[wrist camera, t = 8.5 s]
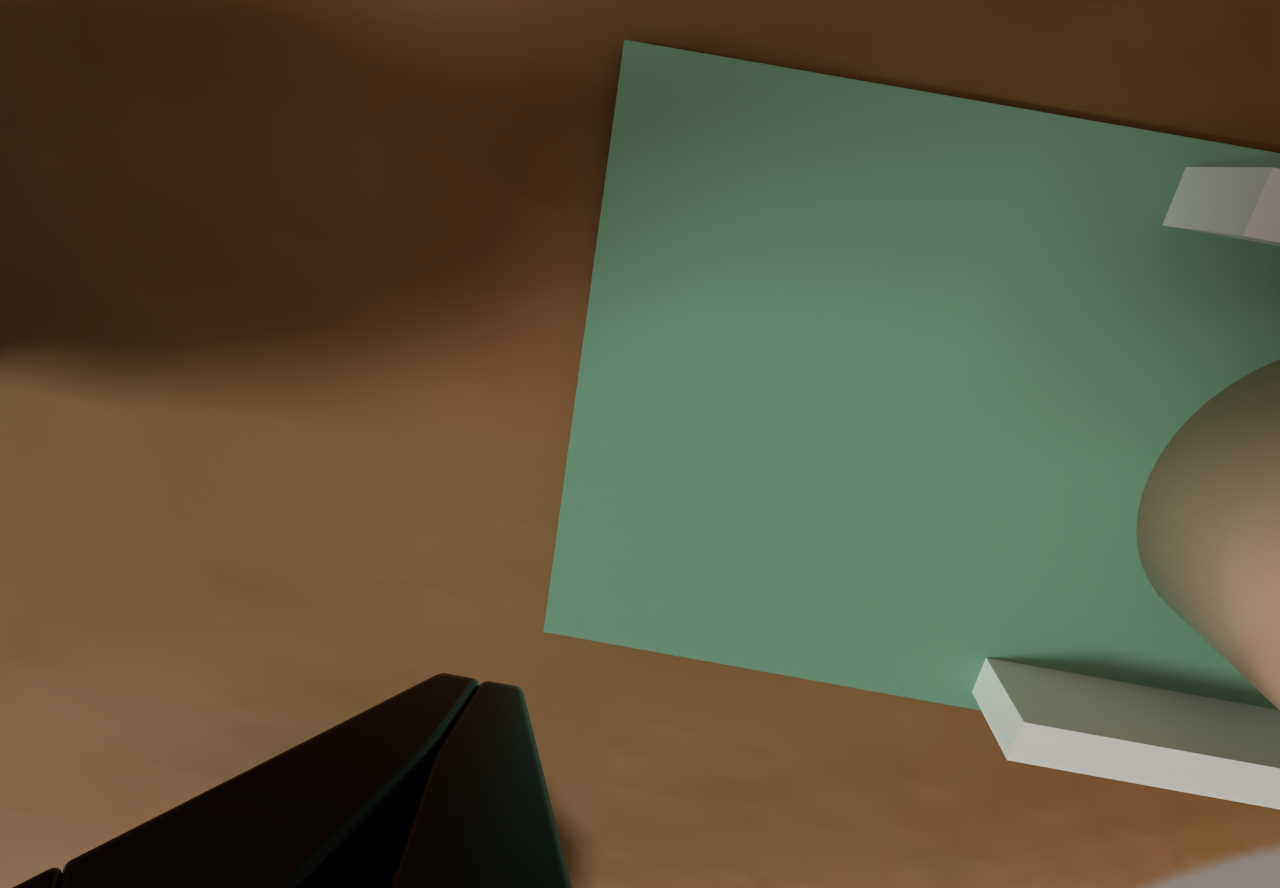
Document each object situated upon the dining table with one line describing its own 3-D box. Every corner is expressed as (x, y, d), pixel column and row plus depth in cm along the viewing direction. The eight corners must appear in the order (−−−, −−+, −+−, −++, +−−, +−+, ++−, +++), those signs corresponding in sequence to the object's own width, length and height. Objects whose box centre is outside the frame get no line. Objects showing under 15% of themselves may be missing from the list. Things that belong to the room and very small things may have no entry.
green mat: (546, 623, 21) (543, 631, 21) (625, 42, 16) (624, 39, 15) (1407, 778, 21) (1420, 789, 21) (1790, 244, 16) (1817, 246, 15)
